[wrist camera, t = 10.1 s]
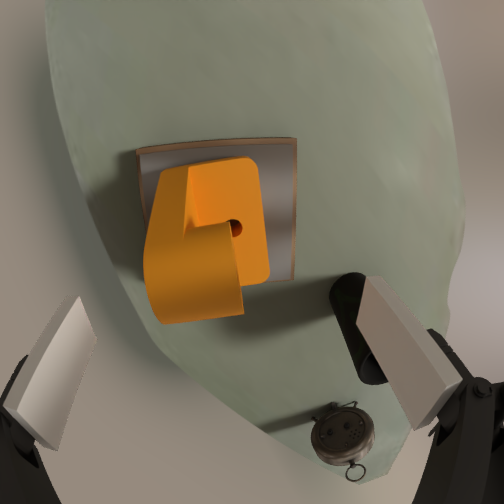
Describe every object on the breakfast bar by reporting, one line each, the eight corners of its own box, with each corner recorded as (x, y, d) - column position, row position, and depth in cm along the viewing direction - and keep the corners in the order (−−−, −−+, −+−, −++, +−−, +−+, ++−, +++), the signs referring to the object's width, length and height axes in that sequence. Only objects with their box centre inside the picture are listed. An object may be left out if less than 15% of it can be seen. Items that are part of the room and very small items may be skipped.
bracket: (266, 267, 27) (294, 357, 16) (191, 278, 27) (179, 373, 16) (252, 153, 23) (282, 176, 12) (167, 167, 22) (119, 205, 12)
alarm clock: (307, 423, 46) (327, 494, 31) (301, 410, 44) (323, 489, 29) (361, 402, 45) (390, 470, 31) (359, 389, 43) (392, 462, 28)
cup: (377, 257, 32) (434, 315, 21) (375, 307, 35) (419, 369, 24) (318, 273, 32) (360, 343, 21) (322, 323, 35) (355, 394, 24)
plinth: (142, 147, 24) (133, 149, 21) (290, 137, 25) (298, 138, 22) (161, 278, 30) (156, 292, 27) (288, 269, 31) (295, 283, 28)
